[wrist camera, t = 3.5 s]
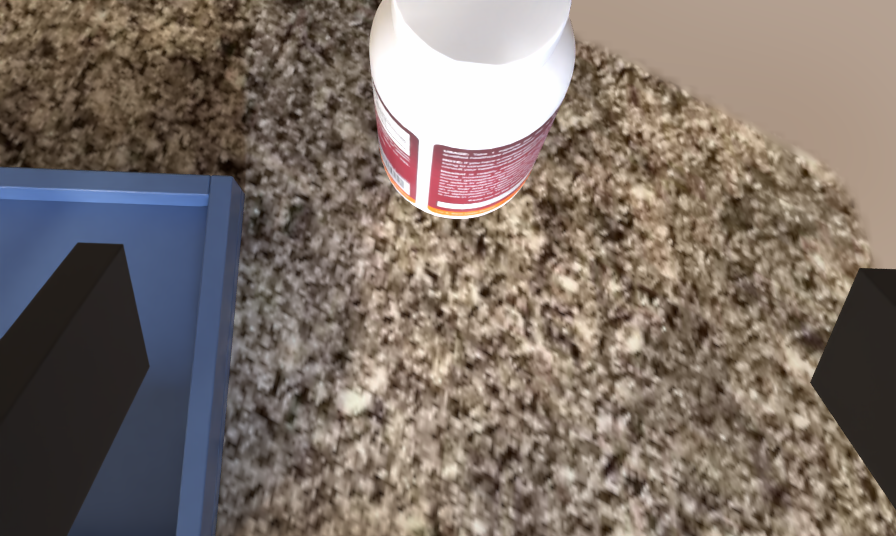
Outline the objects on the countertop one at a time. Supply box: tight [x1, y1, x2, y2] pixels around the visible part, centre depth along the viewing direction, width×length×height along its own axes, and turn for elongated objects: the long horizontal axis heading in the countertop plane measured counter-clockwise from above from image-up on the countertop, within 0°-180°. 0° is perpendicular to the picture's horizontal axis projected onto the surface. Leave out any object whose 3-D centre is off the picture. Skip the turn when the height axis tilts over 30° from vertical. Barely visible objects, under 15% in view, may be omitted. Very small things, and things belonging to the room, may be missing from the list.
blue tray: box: [0, 167, 245, 536], centre depth 25 cm, size 14×14×2 cm
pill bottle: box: [369, 0, 575, 219], centre depth 24 cm, size 6×6×11 cm
